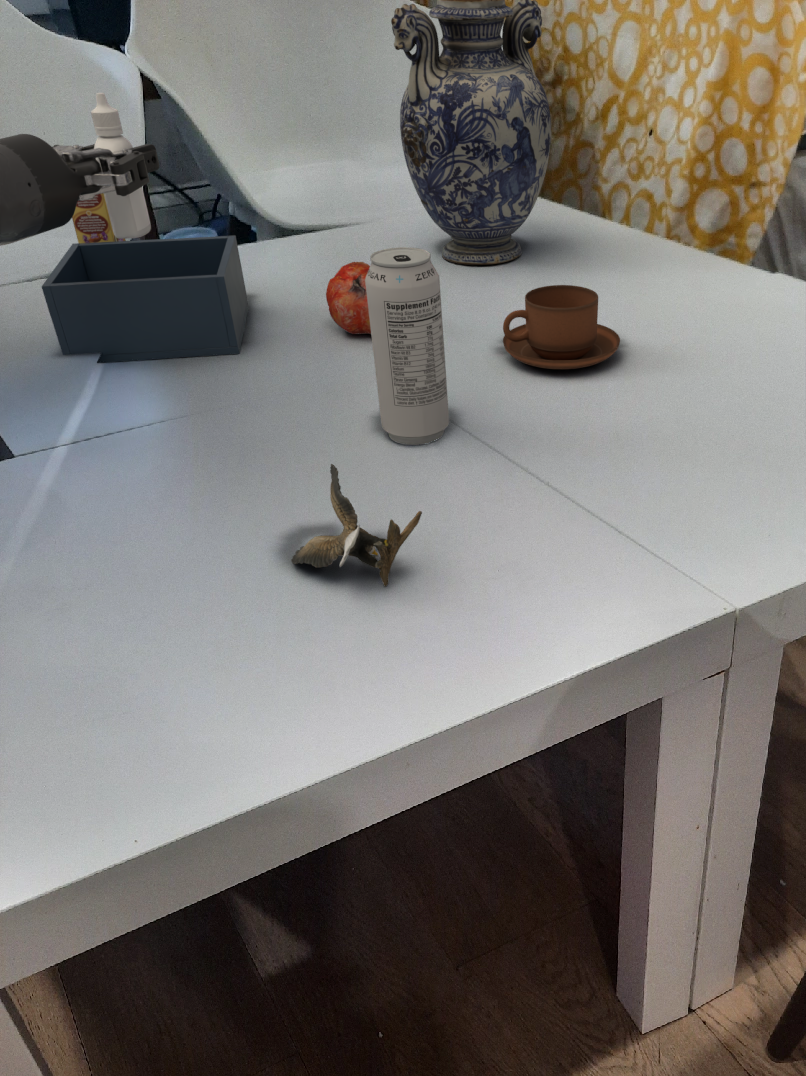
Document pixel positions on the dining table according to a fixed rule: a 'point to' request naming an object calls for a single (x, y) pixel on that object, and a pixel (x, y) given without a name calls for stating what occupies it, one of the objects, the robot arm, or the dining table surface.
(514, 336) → the cup and saucer
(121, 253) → the bin
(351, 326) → the pomegranate
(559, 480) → the dining table surface
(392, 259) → the energy drink can
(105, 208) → the candy box
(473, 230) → the decorative vase
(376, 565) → the eagle figurine
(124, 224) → the eye dropper bottle
